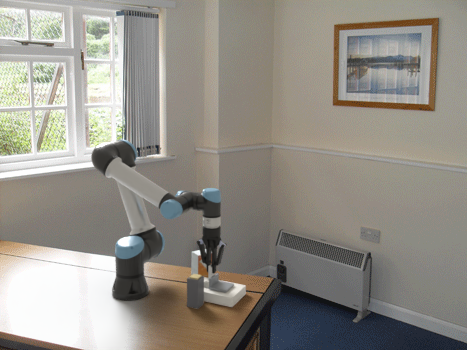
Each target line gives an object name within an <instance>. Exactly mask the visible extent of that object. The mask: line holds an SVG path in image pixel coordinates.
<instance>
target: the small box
mask: <svg viewBox="0 0 467 350" xmlns="http://www.w3.org/2000/svg"><path fill="white" fill-rule="evenodd" d="M205 251H206V248H205ZM190 261H191V262H190V263H191V266H190V267H191V268H190V269H191V270H190V271H191V273H190V276H191V275H193V274H198V275H202V276H204V277H207V278H208V272H207V265H206V264H205V263H202V258H201V254H200V249H199V250H198V249H197V250H194V251H193V250H192V251H191V260H190ZM211 262H212V251H211ZM211 264H212V263H211Z"/></svg>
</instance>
